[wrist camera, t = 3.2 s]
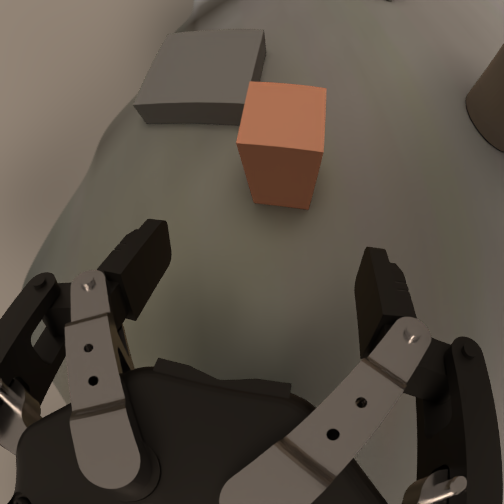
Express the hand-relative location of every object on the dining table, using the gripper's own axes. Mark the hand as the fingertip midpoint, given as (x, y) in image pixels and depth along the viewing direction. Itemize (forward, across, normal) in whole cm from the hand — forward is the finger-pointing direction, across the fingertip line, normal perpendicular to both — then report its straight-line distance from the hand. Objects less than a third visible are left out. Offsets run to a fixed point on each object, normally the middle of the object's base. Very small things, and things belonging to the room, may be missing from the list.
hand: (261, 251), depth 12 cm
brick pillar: (+14, 0, +3) cm, 15 cm away
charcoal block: (+22, +9, -5) cm, 25 cm away
